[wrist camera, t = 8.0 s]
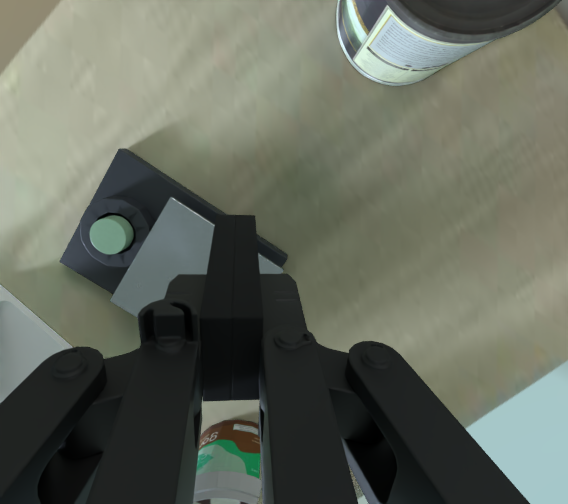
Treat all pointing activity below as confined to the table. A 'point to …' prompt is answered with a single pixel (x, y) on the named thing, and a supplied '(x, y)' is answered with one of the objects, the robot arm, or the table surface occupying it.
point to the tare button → (111, 234)
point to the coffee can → (425, 33)
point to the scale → (134, 218)
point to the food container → (228, 464)
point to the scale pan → (171, 257)
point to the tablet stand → (22, 342)
